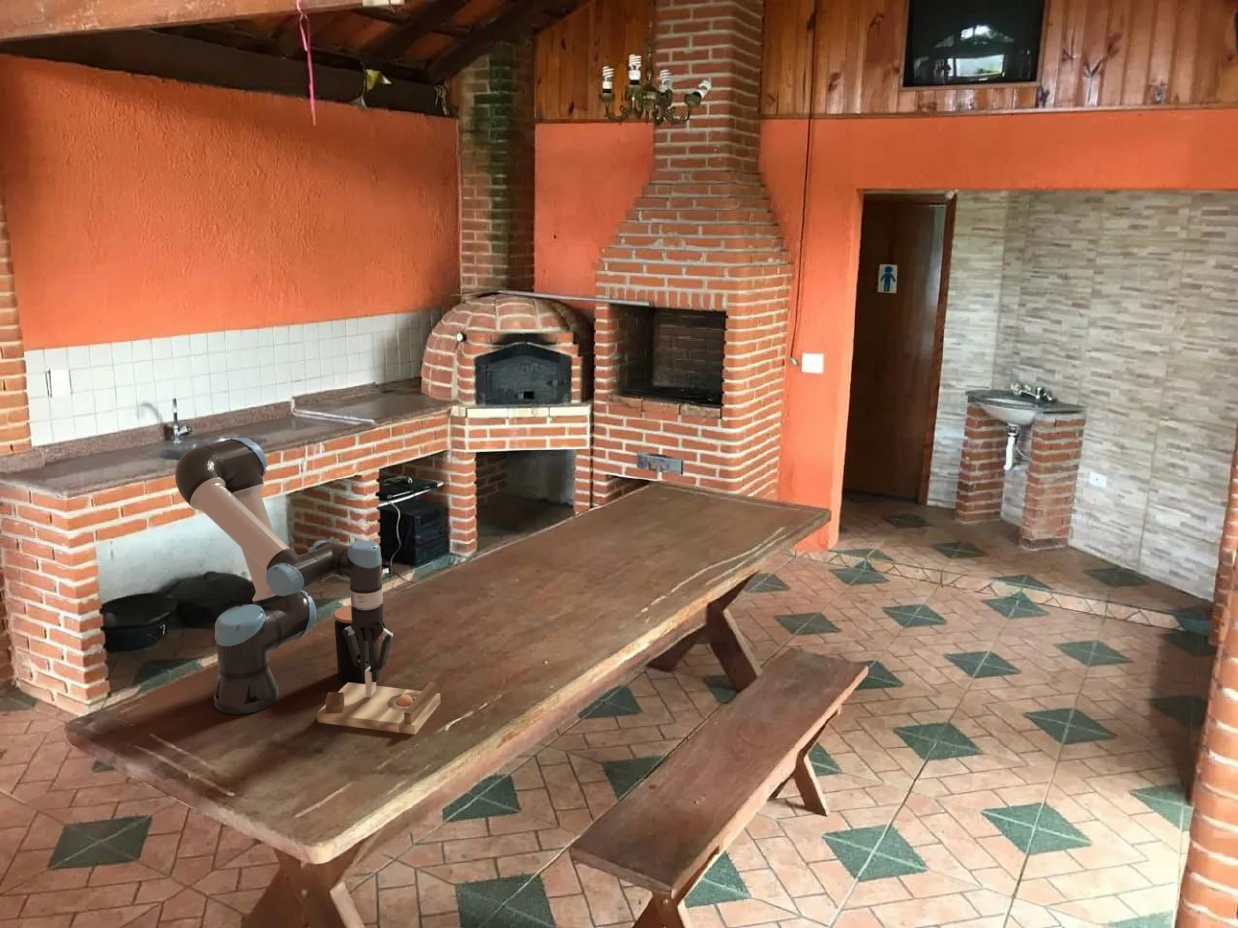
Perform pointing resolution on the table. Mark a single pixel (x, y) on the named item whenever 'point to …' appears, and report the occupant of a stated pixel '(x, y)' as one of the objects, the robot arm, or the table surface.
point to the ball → (404, 701)
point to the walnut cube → (334, 702)
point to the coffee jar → (345, 647)
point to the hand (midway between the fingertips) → (371, 692)
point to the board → (383, 708)
